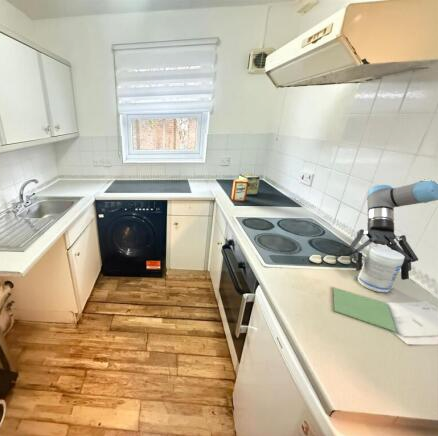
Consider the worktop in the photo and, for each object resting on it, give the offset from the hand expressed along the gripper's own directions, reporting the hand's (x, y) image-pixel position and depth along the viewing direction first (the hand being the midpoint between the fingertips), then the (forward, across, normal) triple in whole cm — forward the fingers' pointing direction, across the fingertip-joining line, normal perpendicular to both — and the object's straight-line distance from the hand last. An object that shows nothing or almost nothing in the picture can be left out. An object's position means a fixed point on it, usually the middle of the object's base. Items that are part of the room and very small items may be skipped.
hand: (381, 274), depth 87 cm
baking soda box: (-59, +58, -69) cm, 108 cm away
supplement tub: (+3, 0, -6) cm, 7 cm away
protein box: (-75, +53, -85) cm, 125 cm away
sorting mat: (+15, +8, +6) cm, 18 cm away
